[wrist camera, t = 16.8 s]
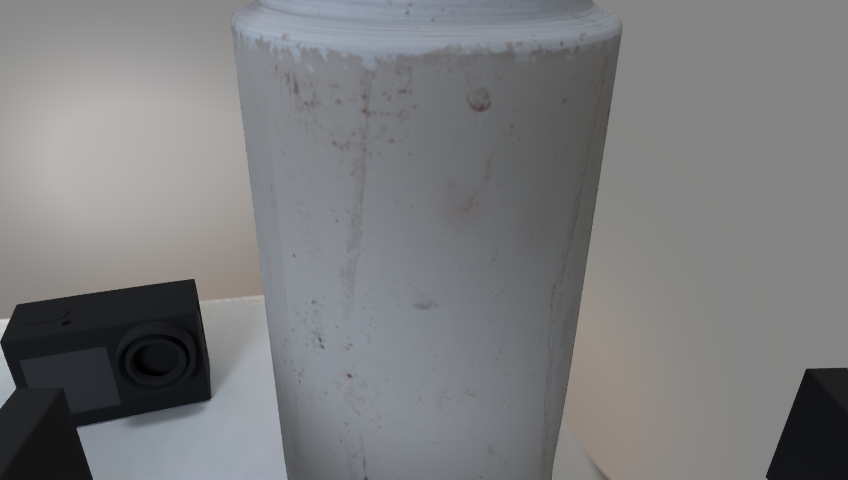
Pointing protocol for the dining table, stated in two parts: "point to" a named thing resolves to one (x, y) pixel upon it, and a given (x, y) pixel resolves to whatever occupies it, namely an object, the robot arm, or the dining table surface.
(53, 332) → the digital camera
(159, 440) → the dining table surface
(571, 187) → the thermos bottle
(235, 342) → the dining table surface
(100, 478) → the dining table surface
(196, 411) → the dining table surface
